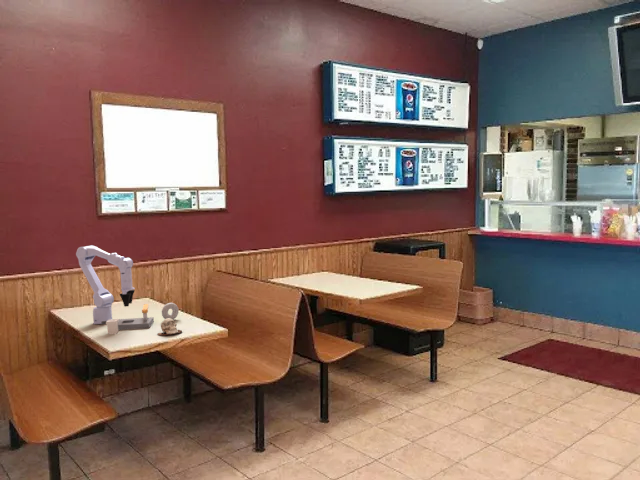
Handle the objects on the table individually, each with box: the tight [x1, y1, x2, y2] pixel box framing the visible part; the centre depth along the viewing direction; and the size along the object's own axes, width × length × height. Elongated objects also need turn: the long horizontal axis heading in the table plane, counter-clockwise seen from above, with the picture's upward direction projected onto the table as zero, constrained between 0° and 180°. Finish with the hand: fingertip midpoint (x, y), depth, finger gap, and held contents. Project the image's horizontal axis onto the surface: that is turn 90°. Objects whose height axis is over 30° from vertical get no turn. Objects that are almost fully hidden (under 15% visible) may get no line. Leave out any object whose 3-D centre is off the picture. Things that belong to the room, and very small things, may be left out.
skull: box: [157, 318, 183, 336], centre depth 278 cm, size 12×10×10 cm
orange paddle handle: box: [141, 303, 149, 314], centre depth 302 cm, size 16×3×2 cm, turn 15°
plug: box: [100, 318, 120, 335], centre depth 281 cm, size 8×5×6 cm, turn 97°
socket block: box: [118, 312, 155, 331], centre depth 295 cm, size 20×14×7 cm
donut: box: [161, 302, 180, 321], centre depth 305 cm, size 10×3×10 cm, turn 135°
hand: (128, 304), depth 300 cm, fingers open, 7 cm apart
